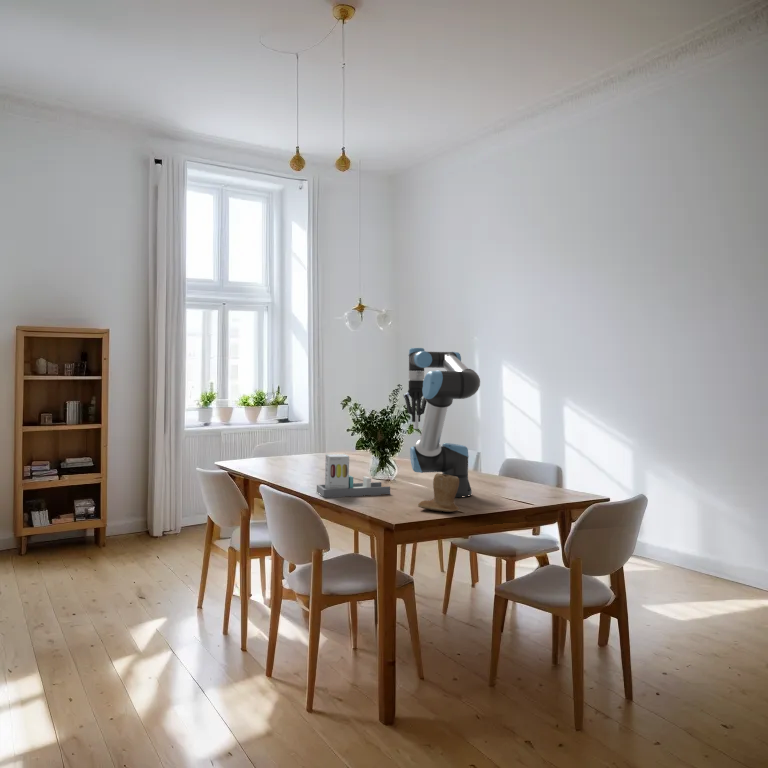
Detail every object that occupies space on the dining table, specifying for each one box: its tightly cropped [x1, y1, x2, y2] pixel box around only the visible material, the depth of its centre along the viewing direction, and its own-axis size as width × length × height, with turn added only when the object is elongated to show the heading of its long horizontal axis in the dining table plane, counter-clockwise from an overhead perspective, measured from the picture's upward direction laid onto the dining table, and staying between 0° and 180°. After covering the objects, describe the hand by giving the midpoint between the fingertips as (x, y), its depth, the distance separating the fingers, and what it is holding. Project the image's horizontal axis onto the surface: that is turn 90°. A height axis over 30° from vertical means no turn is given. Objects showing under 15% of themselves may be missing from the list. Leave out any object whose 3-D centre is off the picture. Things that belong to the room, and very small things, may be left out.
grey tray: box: [316, 481, 391, 498], centre depth 311 cm, size 14×31×4 cm, turn 109°
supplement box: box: [324, 453, 350, 489], centre depth 308 cm, size 10×9×17 cm
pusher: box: [349, 474, 372, 488], centre depth 311 cm, size 11×11×7 cm
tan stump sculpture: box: [417, 472, 460, 513], centre depth 275 cm, size 15×12×15 cm
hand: (415, 428), depth 329 cm, fingers closed
